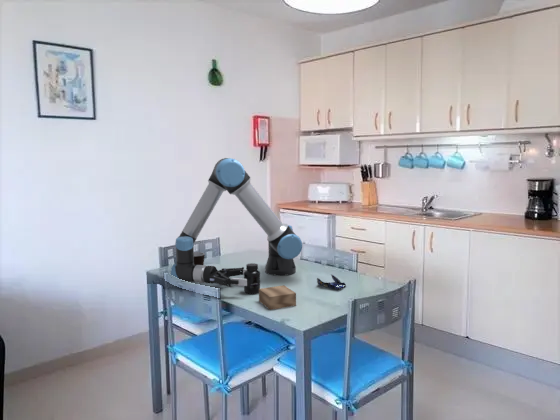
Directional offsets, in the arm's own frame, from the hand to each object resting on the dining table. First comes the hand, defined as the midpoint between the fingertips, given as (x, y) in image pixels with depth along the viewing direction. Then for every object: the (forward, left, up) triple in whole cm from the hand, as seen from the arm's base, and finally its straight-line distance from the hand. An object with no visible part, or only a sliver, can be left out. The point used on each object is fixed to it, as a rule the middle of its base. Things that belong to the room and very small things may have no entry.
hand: (252, 277), depth 190 cm
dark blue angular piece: (-34, +8, -7) cm, 36 cm away
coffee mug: (+14, -38, -7) cm, 41 cm away
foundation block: (-4, +17, -6) cm, 18 cm away
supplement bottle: (0, 0, -7) cm, 7 cm away
